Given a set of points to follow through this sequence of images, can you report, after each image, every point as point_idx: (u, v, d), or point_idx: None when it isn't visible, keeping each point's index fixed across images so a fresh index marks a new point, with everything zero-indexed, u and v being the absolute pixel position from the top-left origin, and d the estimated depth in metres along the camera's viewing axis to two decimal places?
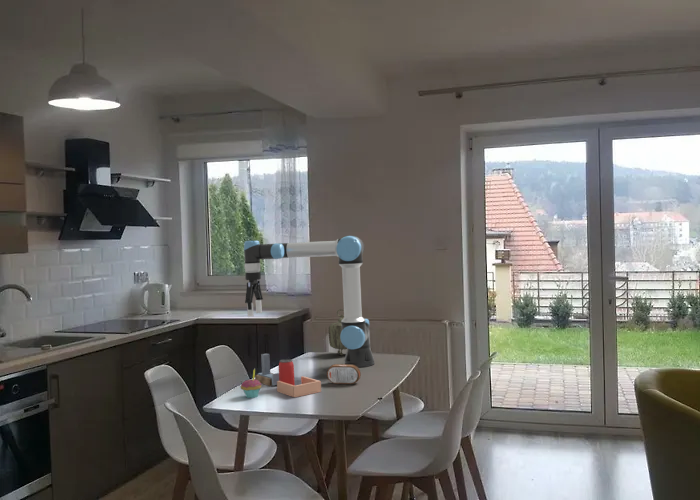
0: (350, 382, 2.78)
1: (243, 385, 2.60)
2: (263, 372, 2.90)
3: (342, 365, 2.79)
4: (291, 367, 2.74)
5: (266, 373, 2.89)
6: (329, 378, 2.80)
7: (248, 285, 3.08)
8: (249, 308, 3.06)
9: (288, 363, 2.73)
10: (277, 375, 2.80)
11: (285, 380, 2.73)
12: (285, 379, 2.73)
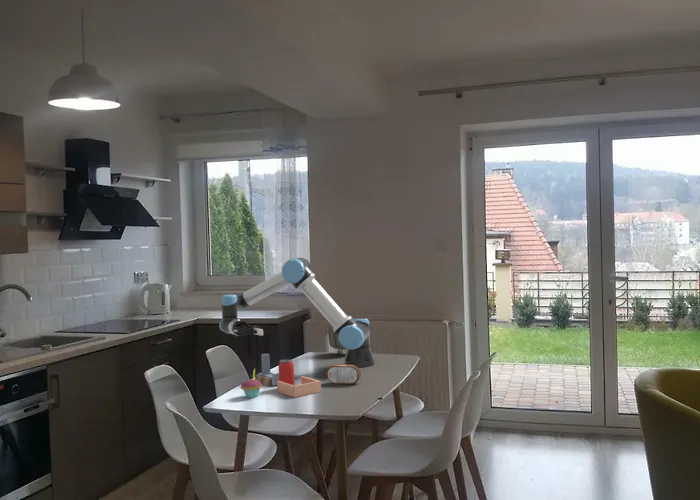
0: (350, 382, 2.78)
1: (243, 385, 2.60)
2: (263, 372, 2.90)
3: (342, 365, 2.79)
4: (291, 367, 2.74)
5: (266, 373, 2.89)
6: (329, 378, 2.80)
7: (236, 331, 3.01)
8: (254, 331, 2.95)
9: (288, 363, 2.73)
10: (277, 375, 2.80)
11: (285, 380, 2.73)
12: (285, 379, 2.73)
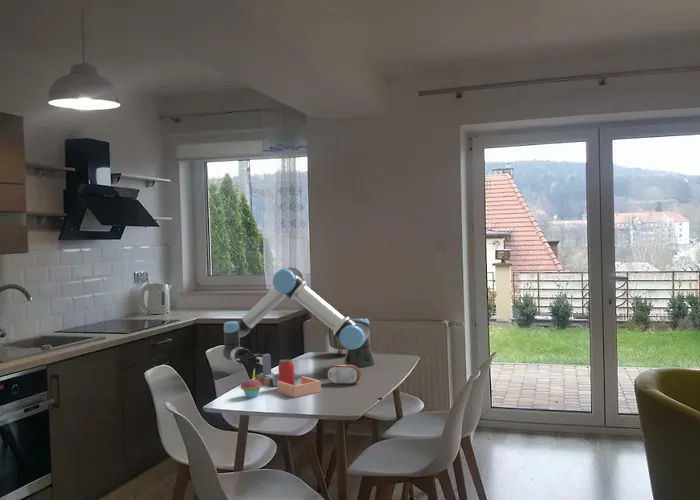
0: (350, 382, 2.78)
1: (243, 385, 2.60)
2: (264, 372, 2.89)
3: (342, 365, 2.79)
4: (291, 367, 2.74)
5: (267, 373, 2.89)
6: (329, 378, 2.80)
7: (238, 360, 3.00)
8: (256, 361, 2.93)
9: (288, 363, 2.73)
10: (278, 375, 2.80)
11: (285, 380, 2.73)
12: (285, 379, 2.73)
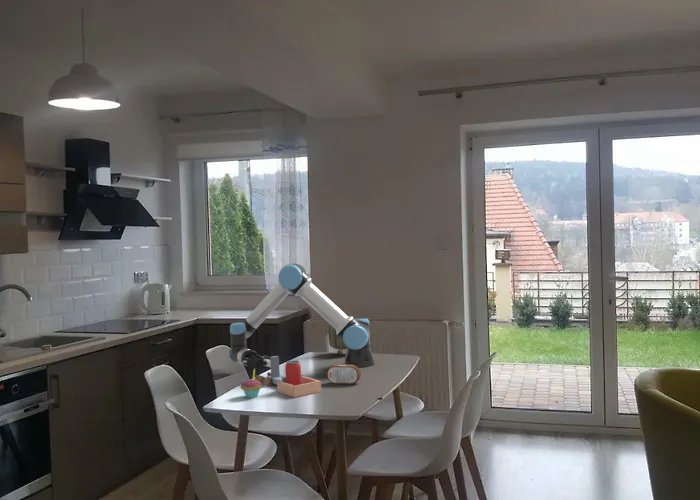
0: (350, 382, 2.78)
1: (243, 385, 2.60)
2: (272, 375, 2.83)
3: (342, 365, 2.79)
4: (298, 369, 2.69)
5: (275, 376, 2.82)
6: (329, 378, 2.80)
7: (245, 362, 2.94)
8: (264, 363, 2.87)
9: (295, 365, 2.69)
10: None
11: (292, 382, 2.68)
12: (292, 381, 2.68)
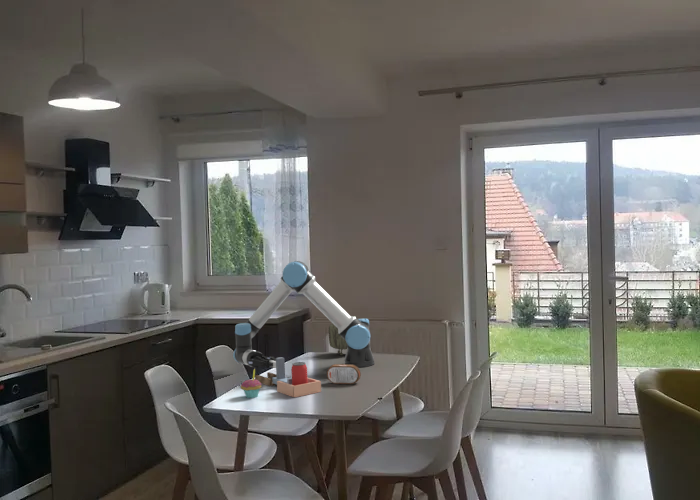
0: (350, 382, 2.78)
1: (243, 385, 2.60)
2: (278, 376, 2.79)
3: (342, 365, 2.79)
4: (305, 370, 2.66)
5: (281, 377, 2.78)
6: (329, 378, 2.80)
7: (251, 363, 2.90)
8: (270, 364, 2.83)
9: (302, 366, 2.65)
10: None
11: (299, 384, 2.64)
12: (299, 383, 2.64)
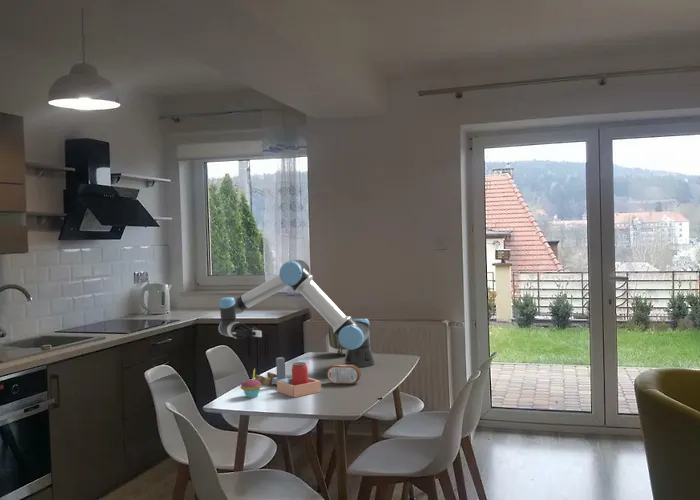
0: (350, 382, 2.78)
1: (243, 385, 2.60)
2: (278, 376, 2.79)
3: (342, 365, 2.79)
4: (305, 370, 2.65)
5: (281, 378, 2.78)
6: (329, 378, 2.80)
7: (234, 333, 3.02)
8: (252, 333, 2.95)
9: (302, 367, 2.65)
10: None
11: (299, 384, 2.64)
12: (299, 383, 2.64)
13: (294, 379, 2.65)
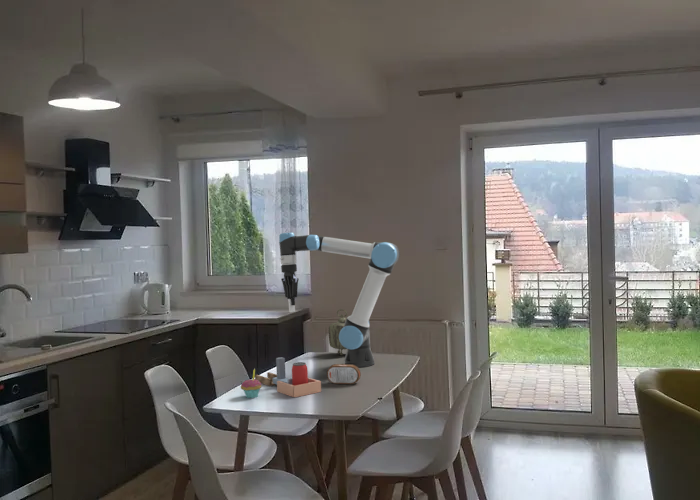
0: (350, 382, 2.78)
1: (243, 385, 2.60)
2: (278, 376, 2.79)
3: (342, 365, 2.79)
4: (305, 370, 2.65)
5: (281, 378, 2.78)
6: (329, 378, 2.80)
7: (295, 281, 3.08)
8: (293, 303, 3.11)
9: (302, 367, 2.65)
10: None
11: (299, 384, 2.64)
12: (299, 383, 2.64)
13: (294, 379, 2.65)
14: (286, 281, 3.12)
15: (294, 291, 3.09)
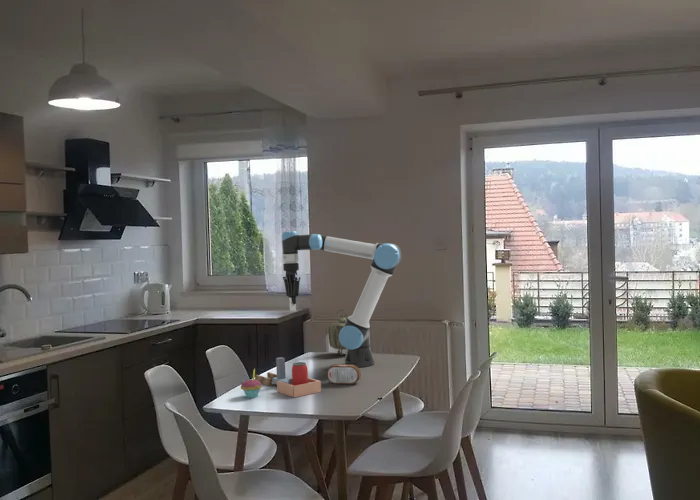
0: (350, 382, 2.78)
1: (243, 385, 2.60)
2: (278, 376, 2.79)
3: (342, 365, 2.79)
4: (305, 370, 2.65)
5: (281, 378, 2.78)
6: (329, 378, 2.80)
7: (297, 280, 3.08)
8: (294, 302, 3.12)
9: (302, 367, 2.65)
10: None
11: (299, 384, 2.64)
12: (299, 383, 2.64)
13: (294, 379, 2.65)
14: (288, 280, 3.12)
15: (295, 290, 3.09)
